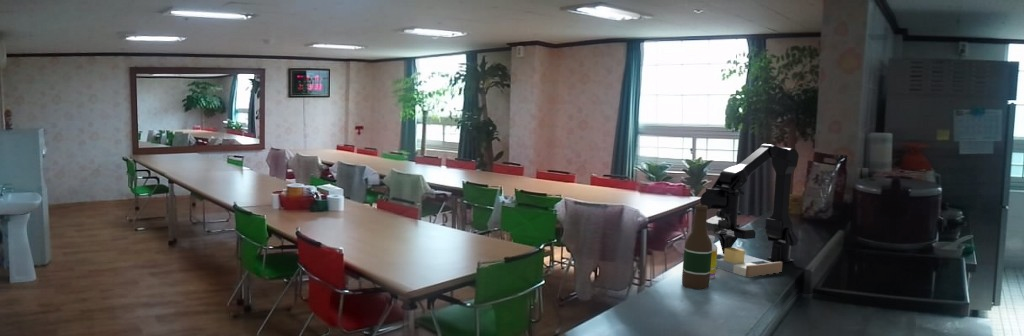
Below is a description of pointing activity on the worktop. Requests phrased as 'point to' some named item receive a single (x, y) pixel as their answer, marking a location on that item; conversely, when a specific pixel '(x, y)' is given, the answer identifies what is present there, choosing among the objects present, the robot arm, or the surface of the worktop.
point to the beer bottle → (697, 253)
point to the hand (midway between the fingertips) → (725, 254)
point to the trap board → (749, 266)
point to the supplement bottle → (713, 257)
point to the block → (734, 255)
